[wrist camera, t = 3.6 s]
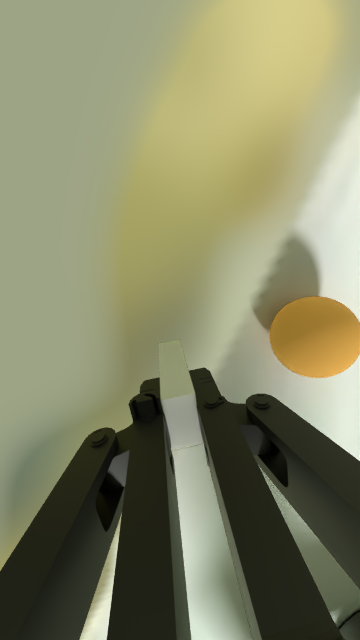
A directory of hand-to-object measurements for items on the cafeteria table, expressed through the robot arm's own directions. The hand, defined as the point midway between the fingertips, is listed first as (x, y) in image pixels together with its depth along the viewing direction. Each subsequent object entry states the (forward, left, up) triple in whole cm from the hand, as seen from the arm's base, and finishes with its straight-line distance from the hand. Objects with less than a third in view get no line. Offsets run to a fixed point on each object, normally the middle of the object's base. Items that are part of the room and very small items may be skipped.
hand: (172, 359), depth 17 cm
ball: (0, -10, +1) cm, 10 cm away
